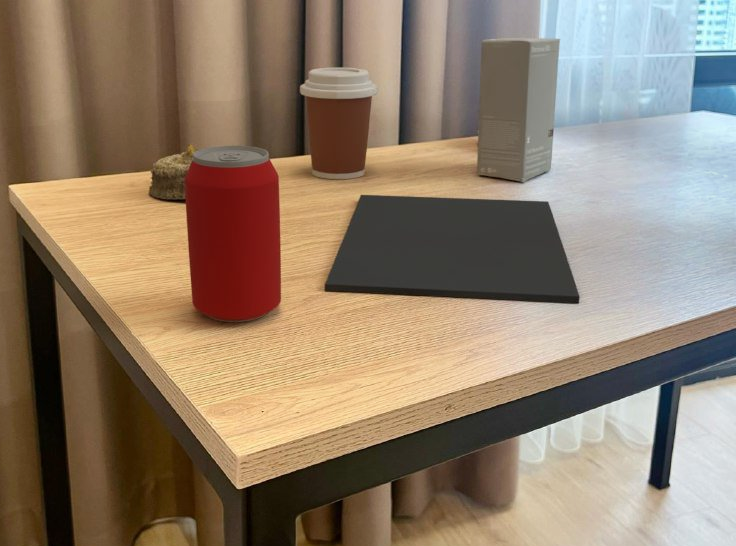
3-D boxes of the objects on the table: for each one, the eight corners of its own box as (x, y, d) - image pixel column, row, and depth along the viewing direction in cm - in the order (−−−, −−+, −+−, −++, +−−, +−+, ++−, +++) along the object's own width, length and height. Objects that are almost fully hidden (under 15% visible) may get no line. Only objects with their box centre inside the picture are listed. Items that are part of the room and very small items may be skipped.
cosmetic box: (523, 184, 104) (535, 41, 98) (469, 175, 108) (477, 37, 102) (554, 170, 111) (567, 36, 104) (502, 162, 115) (512, 32, 108)
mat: (547, 206, 95) (548, 201, 95) (579, 303, 70) (579, 296, 70) (360, 199, 98) (360, 194, 98) (324, 290, 72) (324, 283, 72)
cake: (156, 211, 95) (147, 161, 93) (144, 189, 104) (136, 143, 102) (247, 196, 98) (241, 147, 96) (228, 176, 107) (222, 131, 104)
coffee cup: (356, 185, 104) (358, 78, 99) (287, 176, 107) (285, 73, 102) (387, 168, 111) (390, 69, 106) (321, 161, 115) (321, 64, 110)
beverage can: (282, 293, 72) (279, 143, 67) (281, 326, 65) (277, 163, 61) (197, 294, 71) (188, 143, 67) (188, 328, 65) (177, 164, 60)
